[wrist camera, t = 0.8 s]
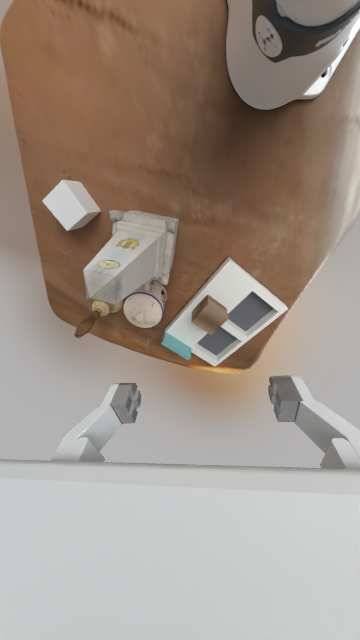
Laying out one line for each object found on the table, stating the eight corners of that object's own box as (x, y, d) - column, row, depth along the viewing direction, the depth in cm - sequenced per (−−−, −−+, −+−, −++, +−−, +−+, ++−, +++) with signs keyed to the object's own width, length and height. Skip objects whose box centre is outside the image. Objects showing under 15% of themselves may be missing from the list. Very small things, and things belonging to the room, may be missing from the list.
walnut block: (207, 294, 45) (208, 303, 41) (226, 307, 47) (228, 318, 43) (192, 311, 48) (191, 321, 44) (210, 323, 50) (211, 335, 46)
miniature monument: (181, 216, 40) (150, 249, 15) (174, 265, 46) (142, 349, 20) (132, 207, 40) (14, 224, 15) (131, 257, 45) (45, 332, 20)
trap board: (228, 256, 43) (232, 265, 37) (283, 303, 48) (295, 317, 42) (165, 328, 56) (160, 343, 50) (214, 359, 61) (215, 377, 55)
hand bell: (129, 305, 53) (105, 342, 39) (106, 316, 55) (77, 354, 42) (110, 279, 49) (76, 310, 36) (87, 293, 52) (47, 326, 38)
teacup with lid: (165, 312, 53) (157, 338, 43) (133, 305, 53) (117, 330, 43) (173, 271, 46) (165, 291, 37) (136, 263, 46) (119, 281, 36)
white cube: (61, 200, 40) (41, 200, 35) (80, 181, 38) (62, 179, 33) (82, 227, 43) (67, 231, 38) (101, 211, 41) (87, 213, 36)
